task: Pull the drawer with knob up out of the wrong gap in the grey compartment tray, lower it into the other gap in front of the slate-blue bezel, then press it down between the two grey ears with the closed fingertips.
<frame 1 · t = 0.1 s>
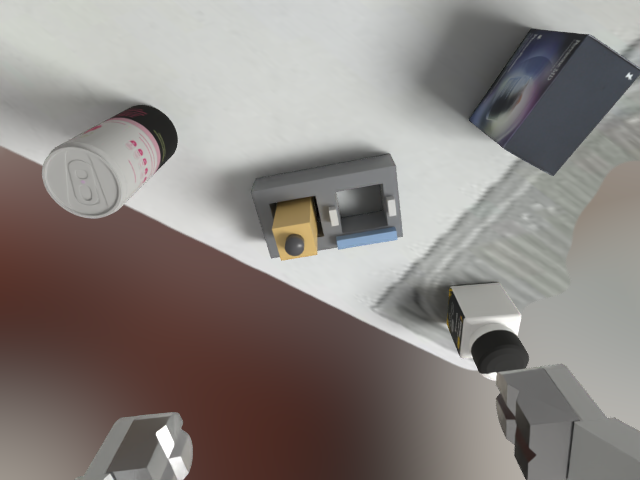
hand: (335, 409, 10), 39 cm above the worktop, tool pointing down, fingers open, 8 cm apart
drawer with knob: (298, 205, 50), resting in grey compartment tray
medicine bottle: (471, 302, 58), on the worktop
beverage can: (150, 133, 46), on the worktop
grey compartment tray: (328, 200, 50), on the worktop
small box: (517, 88, 43), on the worktop
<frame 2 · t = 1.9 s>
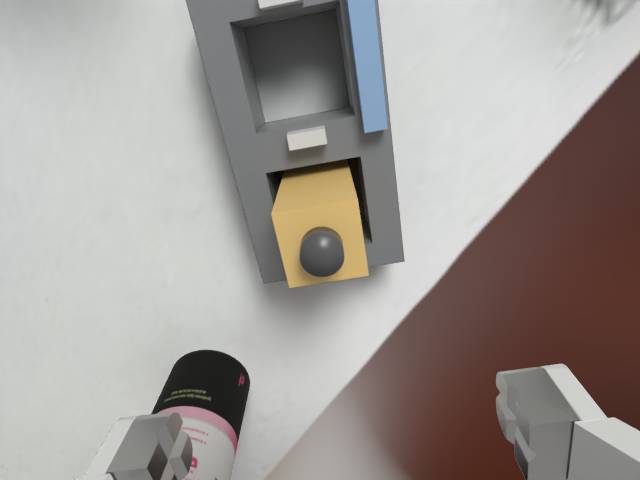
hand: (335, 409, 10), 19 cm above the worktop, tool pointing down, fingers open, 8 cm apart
drawer with knob: (320, 188, 27), resting in grey compartment tray
beverage can: (212, 374, 34), on the worktop
grey compartment tray: (310, 132, 26), on the worktop
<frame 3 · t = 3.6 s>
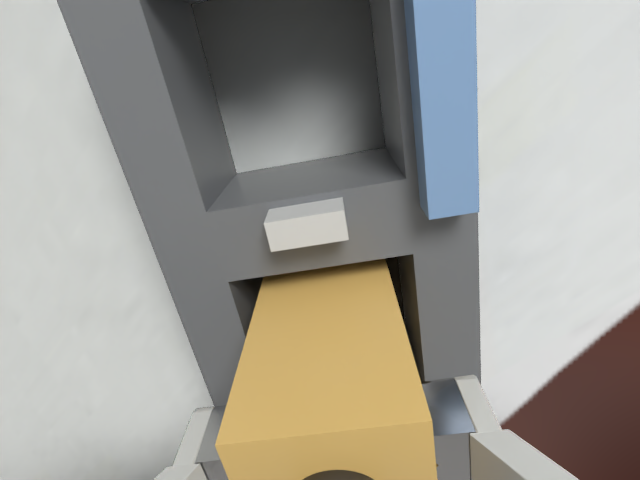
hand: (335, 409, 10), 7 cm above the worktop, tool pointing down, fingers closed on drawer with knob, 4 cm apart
drawer with knob: (332, 278, 16), resting in grey compartment tray, touching gripper
grey compartment tray: (315, 190, 15), on the worktop
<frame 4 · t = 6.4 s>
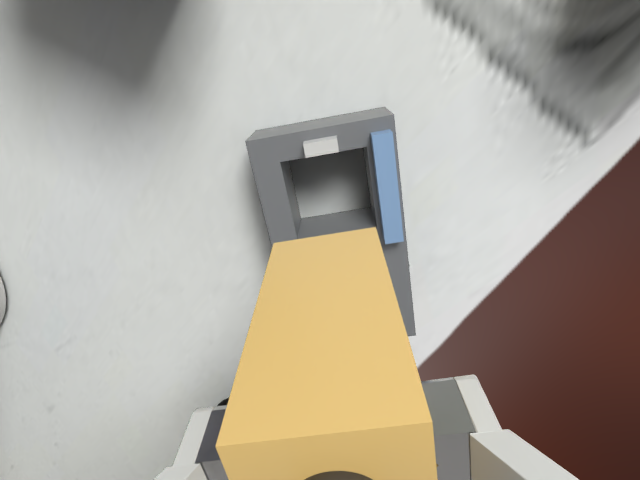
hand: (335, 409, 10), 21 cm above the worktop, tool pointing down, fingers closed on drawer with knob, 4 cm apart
drawer with knob: (332, 279, 16), point 14 cm above the worktop, touching gripper
grey compartment tray: (338, 226, 31), on the worktop
when the fingers open (8 cm above the worktop, at t = 9.1 s): drawer with knob drops 1 cm, resting in grey compartment tray.
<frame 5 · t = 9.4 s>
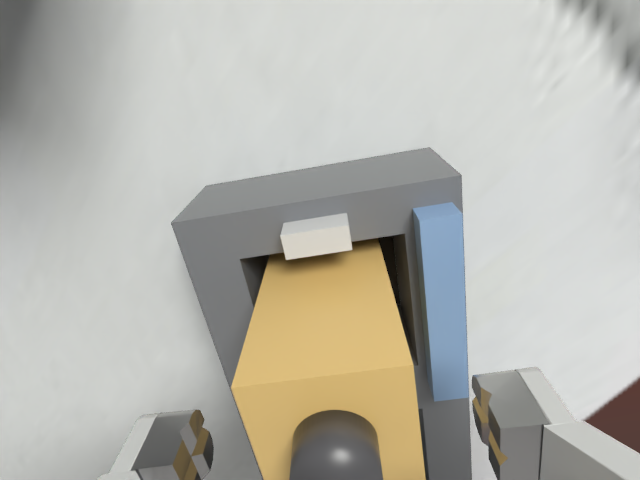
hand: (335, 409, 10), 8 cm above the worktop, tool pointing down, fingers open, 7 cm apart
drawer with knob: (331, 262, 18), resting in grey compartment tray
grey compartment tray: (345, 331, 19), on the worktop
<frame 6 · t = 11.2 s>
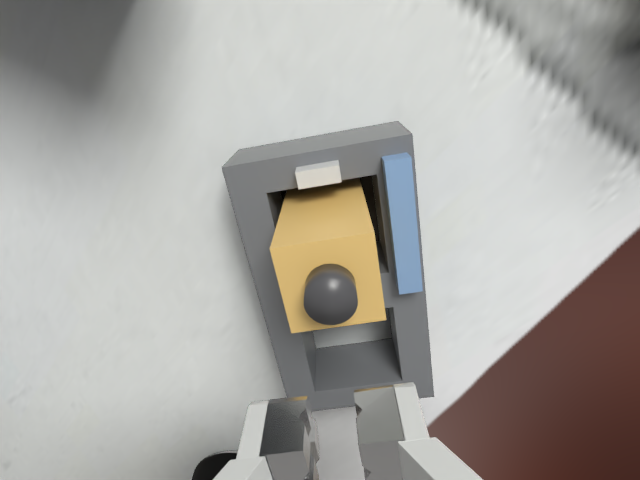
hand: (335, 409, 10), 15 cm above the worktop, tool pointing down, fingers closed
drawer with knob: (328, 208, 24), resting in grey compartment tray
beverage can: (234, 471, 34), on the worktop
grey compartment tray: (339, 263, 26), on the worktop
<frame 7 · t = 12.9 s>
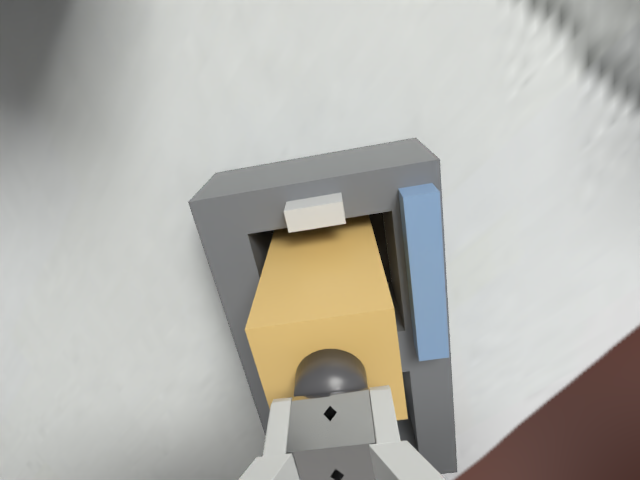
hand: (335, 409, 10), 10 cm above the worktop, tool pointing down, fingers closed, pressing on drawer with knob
drawer with knob: (328, 243, 20), resting in grey compartment tray, touching gripper
grey compartment tray: (341, 307, 21), on the worktop
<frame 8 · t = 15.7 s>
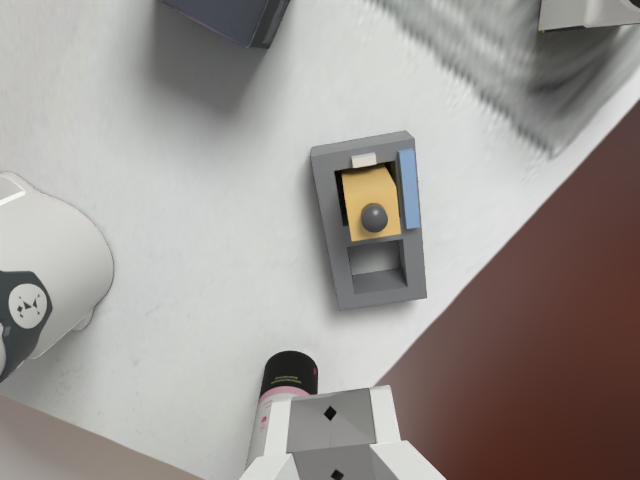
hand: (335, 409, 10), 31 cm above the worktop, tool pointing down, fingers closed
drawer with knob: (363, 182, 40), resting in grey compartment tray
beverage can: (291, 367, 50), on the worktop
grey compartment tray: (369, 217, 41), on the worktop
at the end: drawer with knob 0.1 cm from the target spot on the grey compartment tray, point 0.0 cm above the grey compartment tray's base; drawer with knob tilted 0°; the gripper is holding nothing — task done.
